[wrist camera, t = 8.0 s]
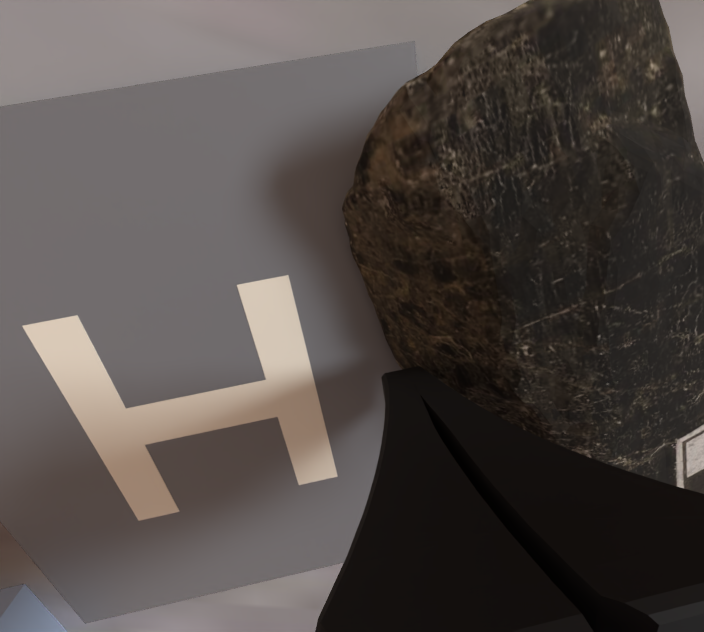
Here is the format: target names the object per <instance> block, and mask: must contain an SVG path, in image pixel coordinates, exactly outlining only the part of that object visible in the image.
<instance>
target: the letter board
mask: <svg viewBox="0 0 704 632" xmlns="http://www.w3.org/2000/svg"><path fill="white" fill-rule="evenodd" d="M415 77H417V64H416V50H415V41H412V42H406V43H400V44H393V45H387V46H381V47H374V48H368V49H362V50H355V51H349V52H343V53H336V54H330V55H324V56H317V57H311V58H305V59H299V60H292V61H286V62H280V63H273V64H267V65H261V66H254V67H248V68H242V69H235V70H229V71H223V72H216V73H210V74H204V75H197V76H191V77H185V78H178V79H172V80H166V81H159V82H153V83H147V84H141V85H134V86H128V87H122V88H115V89H109V90H103V91H96V92H90V93H84V94H77V95H71V96H65V97H58V98H52V99H46V100H39V101H33V102H27V103H20V104H14V105H8V106H1V107H0V522H1V523H2V524H3V526H4V527H5V528H6V529H7V530H8V532H9V533H10V534H11V535H12V536H13V538H14V539H15V540H16V541H17V542H18V544H19V545H20V546H21V547H22V548H23V550H24V551H25V552H26V553H27V554H28V556H29V557H30V558H31V559H32V560H33V562H34V563H35V564H36V565H37V566H38V568H39V569H40V570H41V571H42V572H43V574H44V575H45V576H46V577H47V578H48V580H49V581H50V582H51V583H52V584H53V586H54V587H55V588H56V589H57V590H58V592H59V593H60V594H61V595H62V596H63V598H64V599H65V600H66V601H67V602H68V604H69V605H70V606H71V607H72V608H73V610H74V611H75V612H76V613H77V614H78V616H79V617H80V618H81V619H82V620H83V622H84V623H90V622H94V621H98V620H102V619H107V618H111V617H115V616H119V615H124V614H128V613H132V612H136V611H141V610H145V609H149V608H153V607H158V606H162V605H166V604H170V603H175V602H179V601H183V600H187V599H192V598H196V597H200V596H204V595H209V594H213V593H217V592H221V591H226V590H230V589H234V588H238V587H243V586H247V585H251V584H255V583H259V582H264V581H268V580H272V579H276V578H281V577H285V576H289V575H293V574H298V573H302V572H306V571H310V570H315V569H319V568H323V567H327V566H332V565H336V564H340V563H344V561H345V559H346V557H347V554H348V552H349V549H350V547H351V544H352V541H353V539H354V536H355V533H356V531H357V528H358V525H359V523H360V520H361V518H362V515H363V512H364V509H365V506H366V503H367V500H368V496H369V493H370V489H371V486H372V483H373V479H374V475H375V471H376V467H377V463H378V458H379V454H380V448H381V443H382V436H383V428H384V420H385V398H384V392H383V386H382V379H381V377H382V376H383V374H384V373H388V372H393V371H397V370H402V369H401V368H400V366H399V365H398V364H397V362H396V360H395V358H394V356H393V354H392V351H391V349H390V347H389V345H388V343H387V341H386V339H385V336H384V333H383V330H382V327H381V324H380V322H379V319H378V317H377V314H376V311H375V308H374V305H373V303H372V301H371V299H370V297H369V295H368V292H367V289H366V286H365V283H364V281H363V278H362V275H361V273H360V270H359V268H358V266H357V264H356V262H355V260H354V258H353V256H352V252H351V248H350V241H349V236H348V233H347V230H346V227H345V218H344V215H343V211H342V205H343V202H344V199H345V196H346V194H347V192H348V191H349V189H350V188H351V187H352V186H353V183H354V173H355V169H356V166H357V162H358V160H359V158H360V155H361V152H362V149H363V146H364V143H365V140H366V136H367V134H368V133H369V131H370V130H371V129H372V127H373V126H374V124H375V122H376V120H377V118H378V116H379V114H380V112H381V111H382V110H383V109H384V108H385V107H386V105H387V104H388V103H389V101H390V100H391V99H392V97H393V96H394V94H395V93H396V92H397V90H398V89H400V88H401V87H402V86H403V85H404V84H405V83H406V82H407V81H409V80H411V79H413V78H415Z"/></svg>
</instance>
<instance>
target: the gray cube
mask: <svg viewBox="0 0 704 632" xmlns="http://www.w3.org/2000/svg"><path fill="white" fill-rule="evenodd" d="M0 632H67V631H66V629H65V628H64V627H63V626H62V625H61V624H60V623H59V622H58V620H57V619H56V618H55V617H54V616H53V615H52V614H51V613H50V612H49V610H48V609H47V608H46V607H45V606H44V605H43V604H42V603H41V601H40V600H39V599H38V598H37V597H36V596H35V595H34V594H33V593H32V591H31V590H30V589H29V588H28V587H27V586H26V585H25V584H22V585H18V586H14V587H9V588H5V589H1V590H0Z"/></svg>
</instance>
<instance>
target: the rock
mask: <svg viewBox="0 0 704 632" xmlns="http://www.w3.org/2000/svg"><path fill="white" fill-rule="evenodd" d="M342 211H343V215H344V218H345V227H346V230H347V233H348V236H349V241H350V248H351V252H352V256H353V258H354V260H355V262H356V264H357V266H358V268H359V270H360V273H361V275H362V278H363V281H364V283H365V286H366V289H367V292H368V295H369V297H370V299H371V301H372V303H373V305H374V308H375V311H376V314H377V317H378V319H379V322H380V324H381V327H382V330H383V333H384V336H385V339H386V341H387V343H388V345H389V347H390V349H391V351H392V354H393V356H394V358H395V360H396V362H397V364H398V365H399V366H400V368H401V369H407V368H411V367H416V366H420V367H422V368H423V369H425V370H426V371H427V372H429V373H430V374H432V375H433V376H435V377H436V378H437V379H439V380H440V381H442V382H443V383H445V384H446V385H447V386H449V387H450V388H452V389H453V390H455V391H456V392H458V393H459V394H461V395H462V396H464V397H466V398H467V399H469V400H470V401H472V402H474V403H475V404H477V405H479V406H480V407H482V408H484V409H486V410H487V411H489V412H491V413H493V414H494V415H496V416H498V417H500V418H502V419H504V420H505V421H507V422H509V423H511V424H513V425H515V426H517V427H519V428H522V429H524V430H526V431H528V432H530V433H532V434H534V435H536V436H539V437H541V438H543V439H545V440H547V441H550V442H552V443H554V444H557V445H559V446H562V447H564V448H567V449H569V450H572V451H574V452H577V453H579V454H582V455H585V456H587V457H590V458H592V459H595V460H598V461H600V462H603V463H606V464H609V465H612V466H615V467H617V468H620V469H623V470H626V471H629V472H632V473H636V474H639V475H642V476H645V477H648V478H651V479H654V480H657V481H661V482H664V483H667V484H670V485H674V486H677V487H680V488H684V489H688V490H692V491H695V492H699V493H703V494H704V162H703V159H702V157H701V154H700V152H699V149H698V147H697V144H696V142H695V138H694V132H693V127H692V121H691V115H690V112H689V108H688V105H687V101H686V98H685V93H684V84H683V75H682V73H681V70H680V67H679V65H678V62H677V60H676V57H675V54H674V52H673V46H672V41H671V36H670V31H669V27H668V25H667V22H666V20H665V18H664V15H663V12H662V9H661V6H660V2H659V0H529V1H527V2H526V3H524V4H522V5H520V6H518V7H516V8H515V9H513V10H511V11H509V12H508V13H506V14H504V15H501V16H499V17H496V18H494V19H491V20H489V21H486V22H485V23H483V24H481V25H480V26H478V27H476V28H475V29H473V30H471V31H470V32H468V33H467V34H466V35H464V36H463V37H462V38H460V39H459V40H458V41H457V42H455V43H454V44H453V45H452V46H451V47H450V49H449V50H448V51H447V52H446V53H445V55H444V56H443V57H442V58H441V59H440V60H439V62H438V63H437V64H436V65H435V66H433V67H432V68H431V69H429V70H428V71H427V72H425V73H423V74H421V75H419V76H417V77H415V78H413V79H411V80H409V81H407V82H406V83H405V84H404V85H403V86H402V87H401V88H400V89H398V90H397V92H396V93H395V94H394V96H393V97H392V99H391V100H390V101H389V103H388V104H387V105H386V107H385V108H384V109H383V110H382V111H381V112H380V114H379V116H378V118H377V120H376V122H375V124H374V126H373V127H372V129H371V130H370V131H369V133H368V134H367V136H366V140H365V143H364V146H363V149H362V152H361V155H360V158H359V160H358V162H357V166H356V169H355V173H354V183H353V186H352V187H351V188H350V189H349V191H348V192H347V194H346V196H345V199H344V202H343V205H342Z"/></svg>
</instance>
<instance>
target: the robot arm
mask: <svg viewBox="0 0 704 632" xmlns="http://www.w3.org/2000/svg"><path fill="white" fill-rule="evenodd" d="M381 379H382V386H383V392H384V398H385V420H384V428H383V436H382V443H381V448H380V454H379V458H378V463H377V467H376V471H375V475H374V479H373V483H372V486H371V489H370V493H369V496H368V500H367V503H366V506H365V509H364V512H363V515H362V518H361V520H360V523H359V525H358V528H357V531H356V533H355V536H354V539H353V541H352V544H351V547H350V549H349V552H348V554H347V557H346V559H345V561H344V564H343V566H342V568H341V570H340V573H339V575H338V577H337V579H336V581H335V583H334V586H333V588H332V590H331V592H330V594H329V596H328V599H327V601H326V603H325V605H324V607H323V609H322V612H321V614H320V616H319V618H318V622H317V627H316V631H315V632H704V494H703V493H699V492H695V491H692V490H688V489H684V488H680V487H677V486H674V485H670V484H667V483H664V482H661V481H657V480H654V479H651V478H648V477H645V476H642V475H639V474H636V473H632V472H629V471H626V470H623V469H620V468H617V467H615V466H612V465H609V464H606V463H603V462H600V461H598V460H595V459H592V458H590V457H587V456H585V455H582V454H579V453H577V452H574V451H572V450H569V449H567V448H564V447H562V446H559V445H557V444H554V443H552V442H550V441H547V440H545V439H543V438H541V437H539V436H536V435H534V434H532V433H530V432H528V431H526V430H524V429H522V428H519V427H517V426H515V425H513V424H511V423H509V422H507V421H505V420H504V419H502V418H500V417H498V416H496V415H494V414H493V413H491V412H489V411H487V410H486V409H484V408H482V407H480V406H479V405H477V404H475V403H474V402H472V401H470V400H469V399H467V398H466V397H464V396H462V395H461V394H459V393H458V392H456V391H455V390H453V389H452V388H450V387H449V386H447V385H446V384H445V383H443V382H442V381H440V380H439V379H437V378H436V377H435V376H433V375H432V374H430V373H429V372H427V371H426V370H425V369H423V368H422V367H420V366H416V367H411V368H407V369H402V370H397V371H393V372H388V373H384V374H383V376H382V377H381Z"/></svg>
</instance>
